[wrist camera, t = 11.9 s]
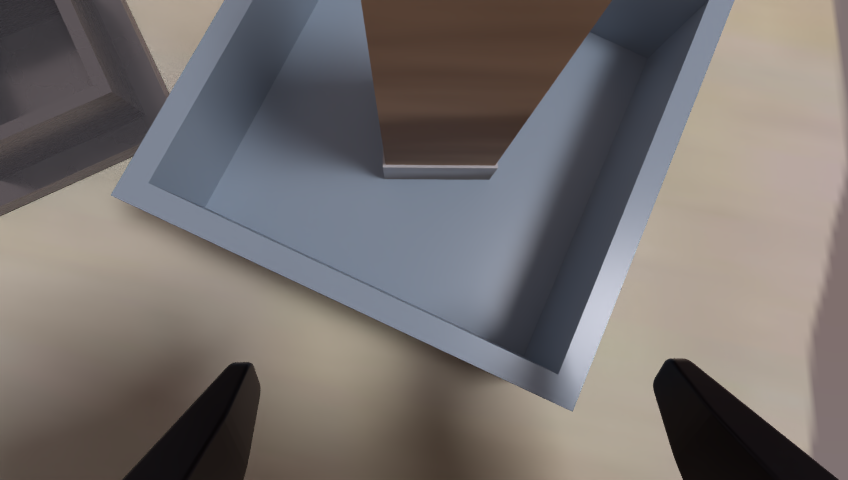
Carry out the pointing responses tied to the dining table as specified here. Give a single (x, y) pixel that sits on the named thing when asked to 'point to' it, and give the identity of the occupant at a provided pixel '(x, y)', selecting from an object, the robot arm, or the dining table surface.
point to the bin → (430, 180)
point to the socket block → (70, 93)
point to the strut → (465, 76)
